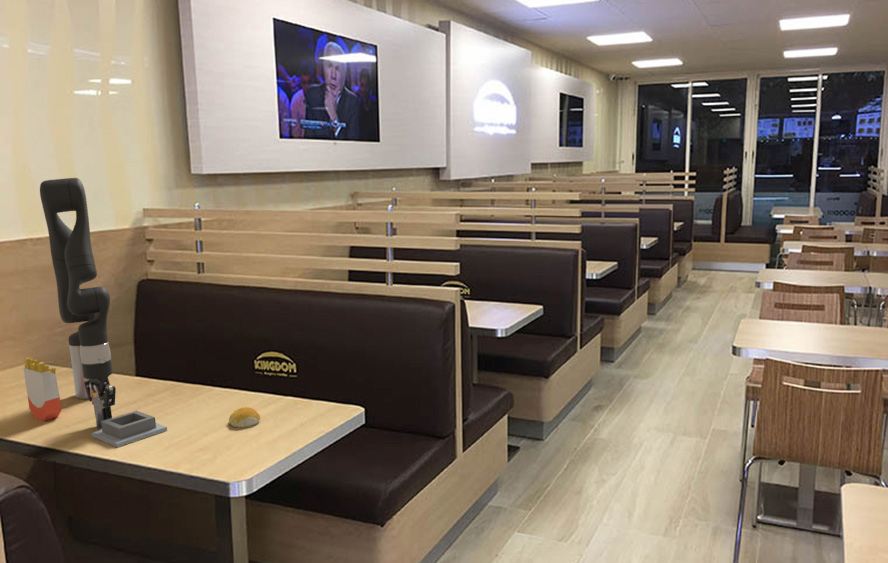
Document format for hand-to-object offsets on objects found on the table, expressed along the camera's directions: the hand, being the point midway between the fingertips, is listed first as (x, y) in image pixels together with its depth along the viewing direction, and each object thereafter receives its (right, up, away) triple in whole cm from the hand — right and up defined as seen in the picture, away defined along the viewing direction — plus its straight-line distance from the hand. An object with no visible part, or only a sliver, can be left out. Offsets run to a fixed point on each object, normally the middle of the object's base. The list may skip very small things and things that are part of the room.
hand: (103, 418), depth 202 cm
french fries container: (-22, -2, +10) cm, 24 cm away
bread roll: (+40, -1, -1) cm, 40 cm away
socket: (+10, -3, -6) cm, 12 cm away
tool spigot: (0, -2, 0) cm, 2 cm away
